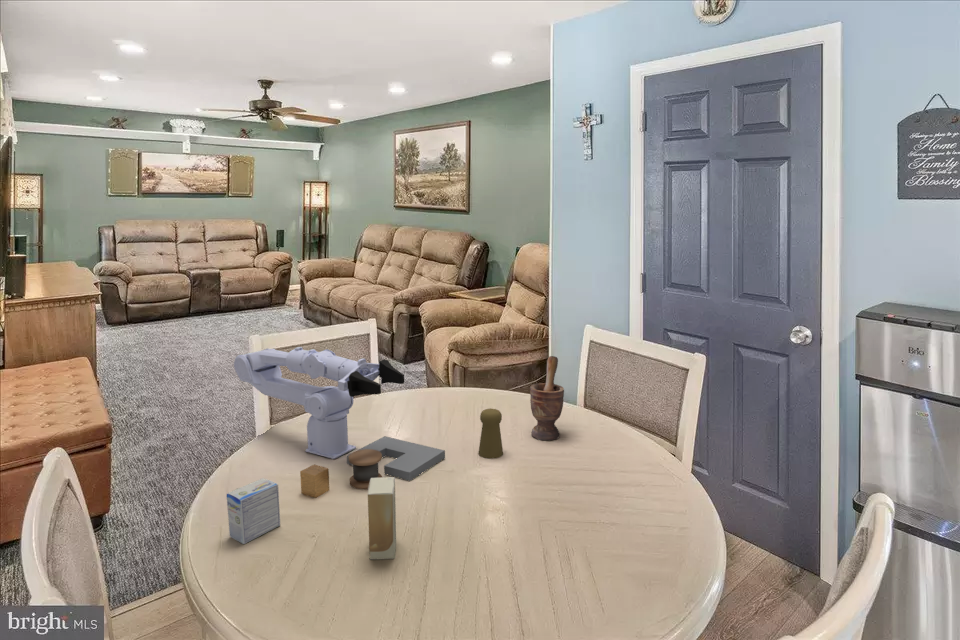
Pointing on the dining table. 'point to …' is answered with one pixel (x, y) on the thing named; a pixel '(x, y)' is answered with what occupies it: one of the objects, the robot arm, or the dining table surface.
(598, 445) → the dining table surface
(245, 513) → the medicine box
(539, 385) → the mortar and pestle
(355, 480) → the bobbin
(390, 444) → the notched board
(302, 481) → the block
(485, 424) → the olive pawn
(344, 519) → the dining table surface
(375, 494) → the skincare box
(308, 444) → the robot arm
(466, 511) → the dining table surface
